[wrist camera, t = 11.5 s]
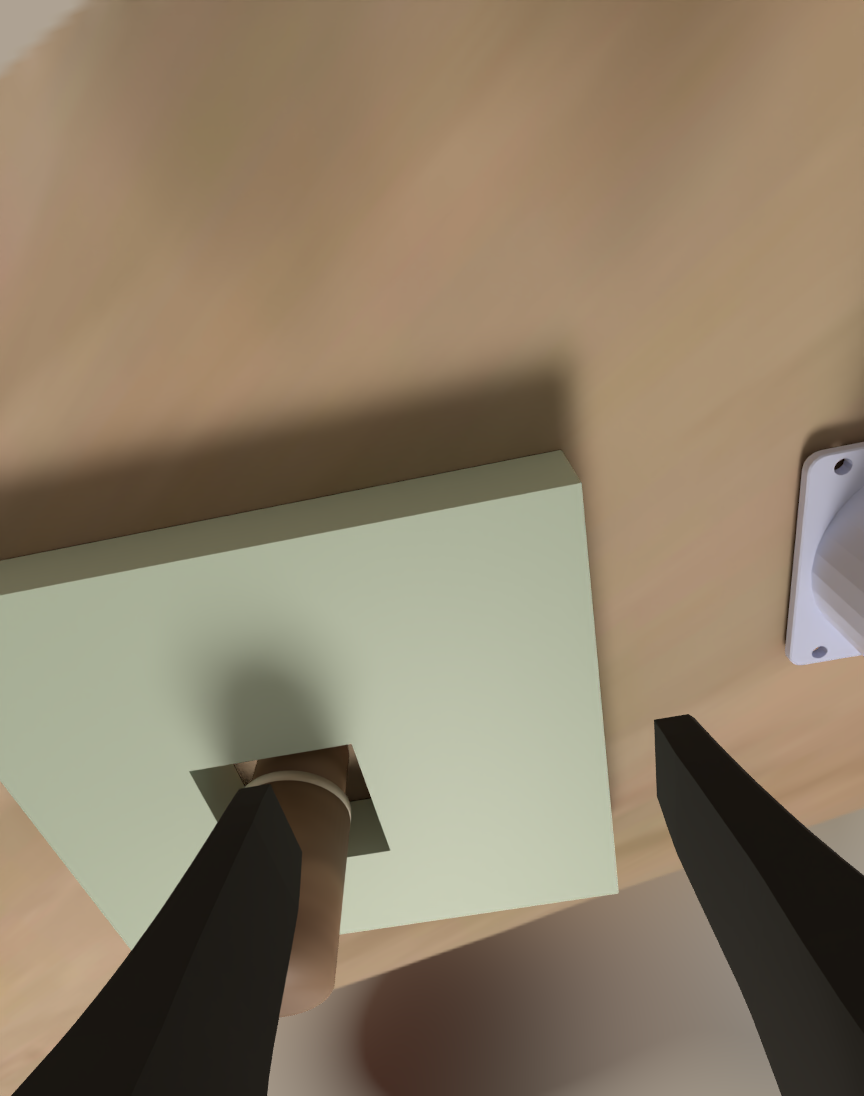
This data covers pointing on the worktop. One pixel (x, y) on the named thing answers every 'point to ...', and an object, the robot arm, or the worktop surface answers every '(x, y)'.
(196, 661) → the socket board
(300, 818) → the walnut leg
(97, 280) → the worktop surface
